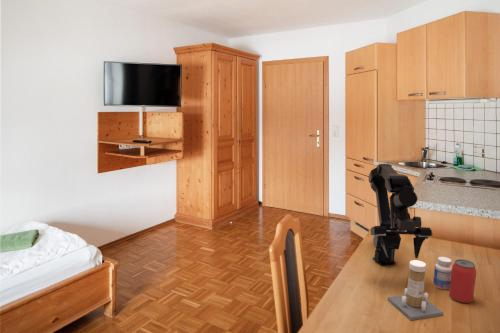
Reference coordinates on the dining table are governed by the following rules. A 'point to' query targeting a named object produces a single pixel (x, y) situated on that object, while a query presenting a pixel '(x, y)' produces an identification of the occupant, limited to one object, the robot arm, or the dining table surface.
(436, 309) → the pin tray
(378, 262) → the robot arm
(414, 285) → the sprinkles bottle
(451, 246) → the dining table surface
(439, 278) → the pill bottle
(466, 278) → the beer can
